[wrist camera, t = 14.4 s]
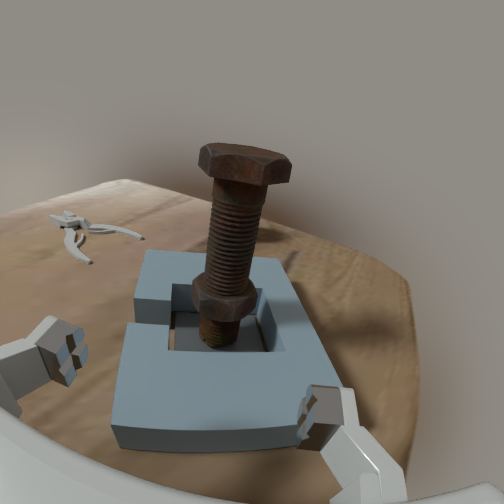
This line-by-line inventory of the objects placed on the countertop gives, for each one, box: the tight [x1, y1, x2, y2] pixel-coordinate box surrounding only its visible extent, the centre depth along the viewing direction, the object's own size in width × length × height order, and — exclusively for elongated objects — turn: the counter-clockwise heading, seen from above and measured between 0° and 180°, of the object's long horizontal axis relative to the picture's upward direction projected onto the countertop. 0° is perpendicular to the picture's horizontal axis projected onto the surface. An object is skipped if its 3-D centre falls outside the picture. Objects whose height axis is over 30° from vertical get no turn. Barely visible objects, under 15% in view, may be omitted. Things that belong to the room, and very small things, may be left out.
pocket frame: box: [111, 249, 344, 453], centre depth 23 cm, size 20×14×3 cm
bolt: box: [191, 143, 292, 348], centre depth 21 cm, size 6×5×15 cm
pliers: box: [49, 210, 143, 264], centre depth 37 cm, size 10×2×15 cm
